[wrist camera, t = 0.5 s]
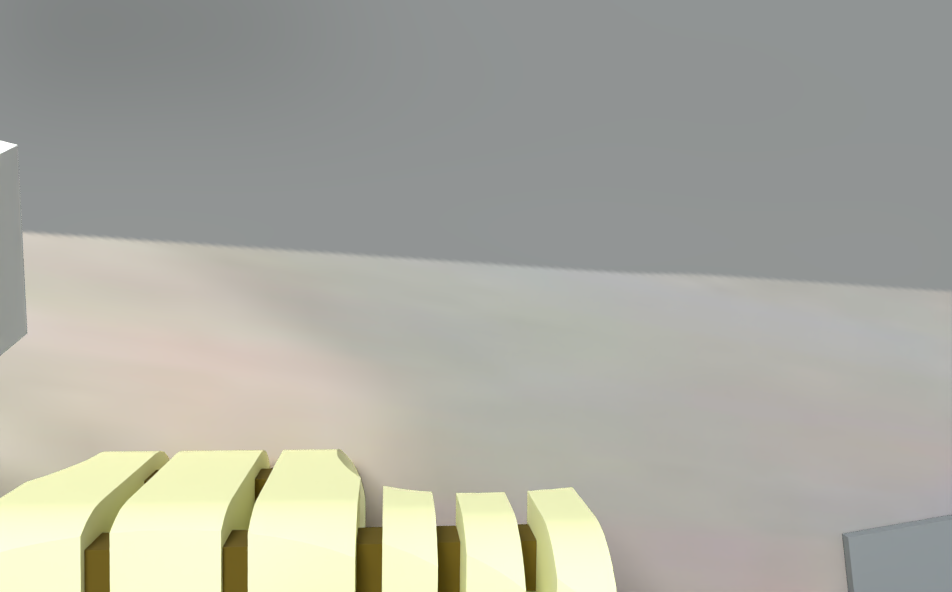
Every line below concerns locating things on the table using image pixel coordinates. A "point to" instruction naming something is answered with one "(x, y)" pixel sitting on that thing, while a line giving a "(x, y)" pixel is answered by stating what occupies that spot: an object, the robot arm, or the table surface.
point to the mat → (901, 557)
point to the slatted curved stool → (282, 531)
